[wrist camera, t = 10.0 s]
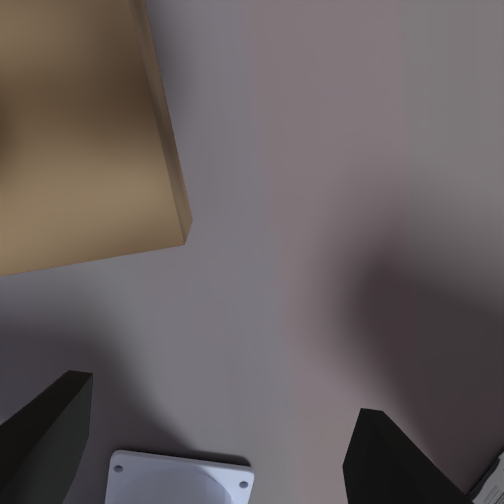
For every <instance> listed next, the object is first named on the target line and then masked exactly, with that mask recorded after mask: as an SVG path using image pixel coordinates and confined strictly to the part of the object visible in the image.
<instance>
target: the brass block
mask: <svg viewBox="0 0 504 504" xmlns="http://www.w3.org/2000/svg"><path fill="white" fill-rule="evenodd" d="M191 223H192V216H191V211H190V207H189V202H188V198H187V193H186V188H185V184H184V179H183V175H182V170H181V166H180V161H179V157H178V152H177V148H176V143H175V138H174V134H173V129H172V125H171V120H170V116H169V111H168V107H167V102H166V97H165V93H164V88H163V84H162V79H161V75H160V70H159V66H158V61H157V57H156V52H155V47H154V43H153V38H152V34H151V29H150V25H149V20H148V16H147V11H146V7H145V2H144V0H0V276H5V275H11V274H16V273H22V272H28V271H34V270H40V269H46V268H52V267H58V266H64V265H69V264H75V263H81V262H87V261H93V260H99V259H105V258H111V257H117V256H122V255H128V254H134V253H140V252H146V251H152V250H158V249H164V248H169V247H175V246H181V245H185V242H186V239H187V236H188V233H189V230H190V227H191Z"/></svg>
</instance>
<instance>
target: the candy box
mask: <svg viewBox="0 0 504 504" xmlns="http://www.w3.org/2000/svg"><path fill="white" fill-rule="evenodd" d="M467 497H468V498H469V499H470V500H471V501H472V502H473V503H474V504H504V452H503V453H502V454H501V455H500V456H499V457H498V458H497V460H496V461H495V462H494V464H493V465H492V466H491V468H490V469H489V471H488V472H487V473H486V474H485V476H484V477H483V478H482V479H481V481H480V482H479V483H478V484H477V485H476V487H475V488H474V489H473V490H472V491H471V492H470V494H469V495H468V496H467Z"/></svg>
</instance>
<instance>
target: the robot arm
mask: <svg viewBox="0 0 504 504" xmlns="http://www.w3.org/2000/svg"><path fill="white" fill-rule="evenodd" d="M92 382H93V373H86V372H78V371H71V370H69V371H67V372H66V373H64V374H63V375H62V376H61V377H60V378H59V379H57V380H56V381H55V382H54V383H53V384H51V385H50V386H49V387H48V388H47V389H45V390H44V391H43V392H42V393H41V394H39V395H38V396H37V397H36V398H35V399H33V400H32V401H31V402H30V403H28V404H27V405H26V406H25V407H23V408H22V409H21V410H19V411H18V412H17V413H16V414H14V415H13V416H12V417H10V418H9V419H8V420H7V421H5V422H4V423H3V424H1V425H0V504H62V502H63V500H64V498H65V496H66V494H67V492H68V490H69V487H70V485H71V483H72V481H73V479H74V477H75V474H76V471H77V469H78V466H79V463H80V460H81V457H82V454H83V451H84V448H85V445H86V442H87V439H88V434H89V421H90V408H91V395H92ZM116 465H120V466H122V467H118V466H116ZM342 467H343V474H344V480H345V487H346V493H347V499H348V504H474V503H473V502H472V501H471V500H470V499H469V498H468V497H467V496H466V495H465V494H464V493H463V492H462V491H460V490H459V489H458V488H457V487H456V486H455V485H454V484H453V483H452V482H451V481H450V480H449V479H448V478H447V477H446V476H445V475H444V474H443V473H442V472H441V471H440V470H439V469H438V468H437V467H436V466H435V465H434V464H433V463H432V462H431V461H430V460H429V459H428V458H427V457H426V456H425V455H424V454H423V453H422V452H421V450H420V449H419V448H418V447H417V446H416V445H415V444H414V443H413V442H412V441H411V440H410V439H409V438H408V437H407V436H406V435H405V433H404V432H403V431H402V430H401V429H400V428H399V427H398V426H397V425H396V424H395V423H394V422H393V421H392V420H391V419H390V418H389V417H388V416H387V415H386V414H385V413H384V412H383V411H380V410H372V409H364V408H361V409H360V413H359V416H358V419H357V422H356V425H355V428H354V431H353V434H352V438H351V441H350V444H349V447H348V450H347V453H346V456H345V459H344V463H343V466H342ZM242 481H245V483H242ZM253 481H254V471H253V469H252V468H251V467H248V466H241V465H233V464H225V463H218V462H210V461H202V460H195V459H187V458H179V457H172V456H164V455H156V454H149V453H141V452H133V451H126V450H117V451H115V452H114V453H113V454H112V457H111V460H110V466H109V474H108V482H107V490H106V498H105V504H248V500H249V496H250V492H251V488H252V485H253Z"/></svg>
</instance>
